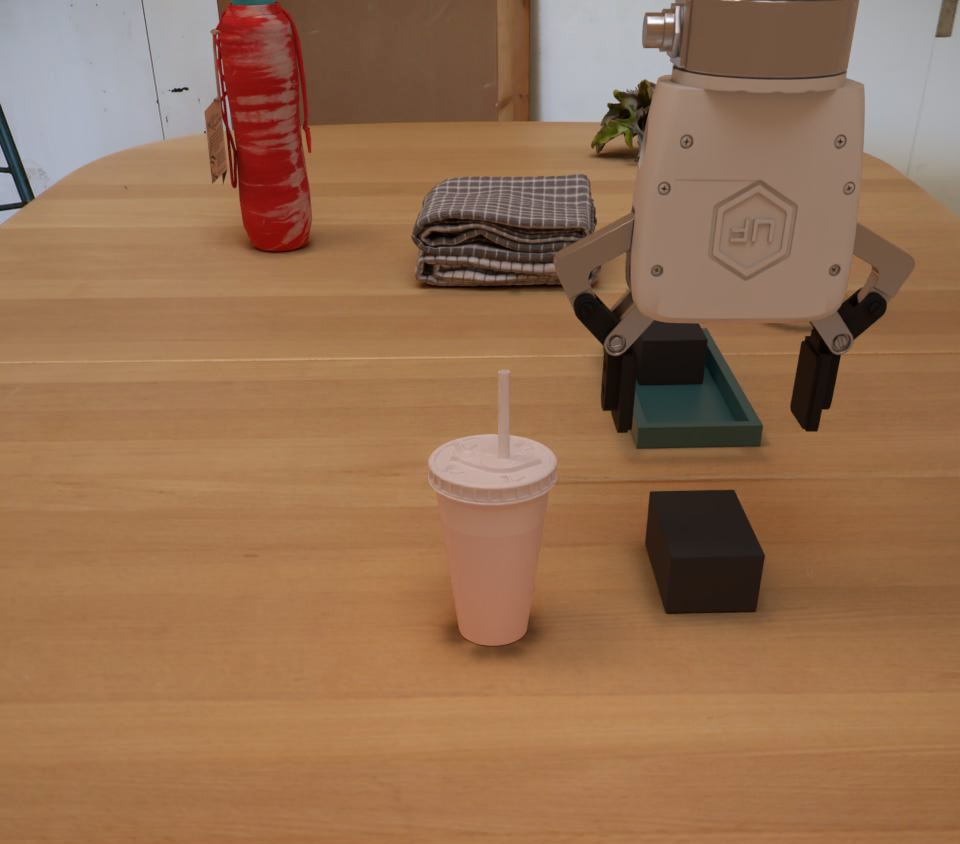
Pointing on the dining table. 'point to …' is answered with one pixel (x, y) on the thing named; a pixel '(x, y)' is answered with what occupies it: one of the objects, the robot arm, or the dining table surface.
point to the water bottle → (262, 122)
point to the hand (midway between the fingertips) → (712, 422)
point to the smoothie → (493, 523)
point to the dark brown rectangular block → (671, 354)
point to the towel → (501, 229)
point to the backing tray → (696, 411)
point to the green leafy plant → (626, 116)
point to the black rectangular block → (703, 551)
